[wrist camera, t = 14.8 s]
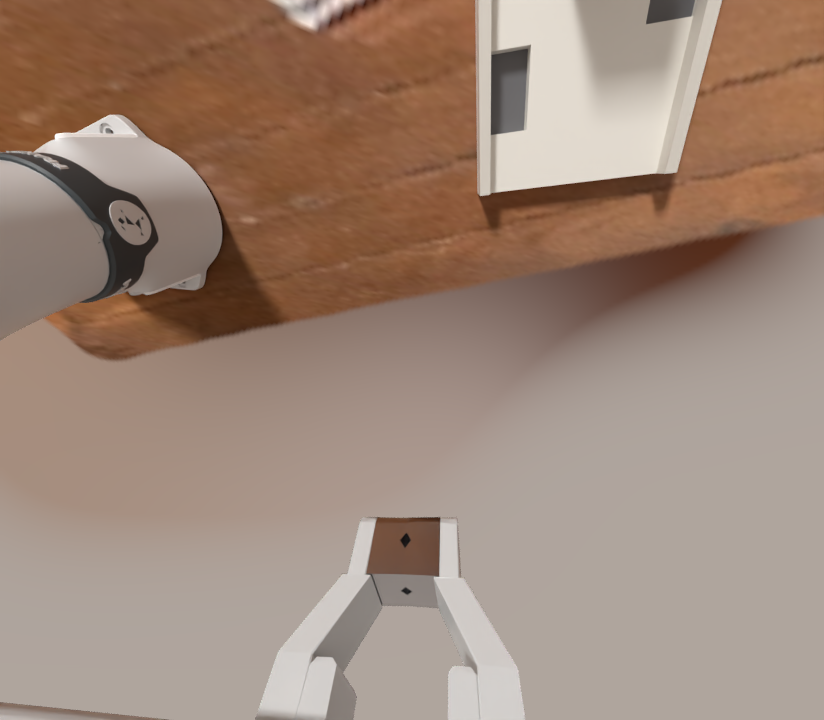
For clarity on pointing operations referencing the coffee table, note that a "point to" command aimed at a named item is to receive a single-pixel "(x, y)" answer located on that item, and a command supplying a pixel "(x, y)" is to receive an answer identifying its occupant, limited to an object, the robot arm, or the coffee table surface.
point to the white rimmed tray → (585, 88)
